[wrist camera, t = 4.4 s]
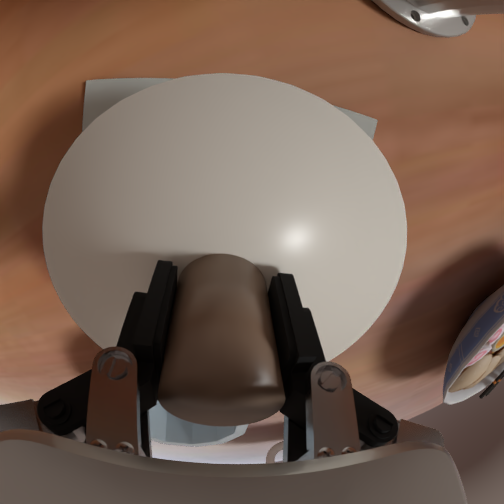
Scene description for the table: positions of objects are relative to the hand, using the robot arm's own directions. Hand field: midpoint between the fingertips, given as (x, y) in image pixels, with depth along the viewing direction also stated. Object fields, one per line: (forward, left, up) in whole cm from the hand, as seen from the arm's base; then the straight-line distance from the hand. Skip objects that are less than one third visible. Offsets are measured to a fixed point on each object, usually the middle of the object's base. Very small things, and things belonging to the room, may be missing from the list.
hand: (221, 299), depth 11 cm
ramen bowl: (+9, +37, -9) cm, 39 cm away
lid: (0, 0, -1) cm, 1 cm away
